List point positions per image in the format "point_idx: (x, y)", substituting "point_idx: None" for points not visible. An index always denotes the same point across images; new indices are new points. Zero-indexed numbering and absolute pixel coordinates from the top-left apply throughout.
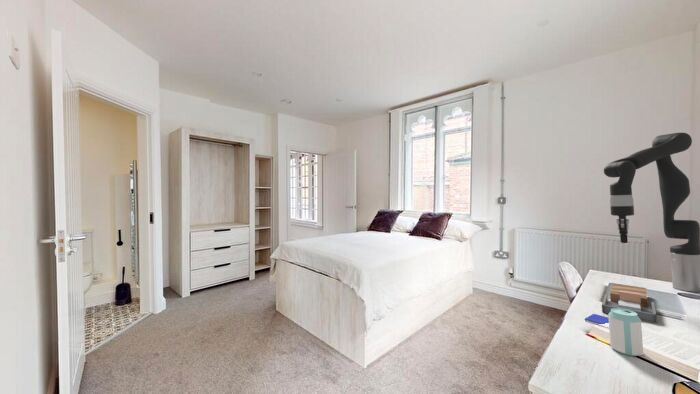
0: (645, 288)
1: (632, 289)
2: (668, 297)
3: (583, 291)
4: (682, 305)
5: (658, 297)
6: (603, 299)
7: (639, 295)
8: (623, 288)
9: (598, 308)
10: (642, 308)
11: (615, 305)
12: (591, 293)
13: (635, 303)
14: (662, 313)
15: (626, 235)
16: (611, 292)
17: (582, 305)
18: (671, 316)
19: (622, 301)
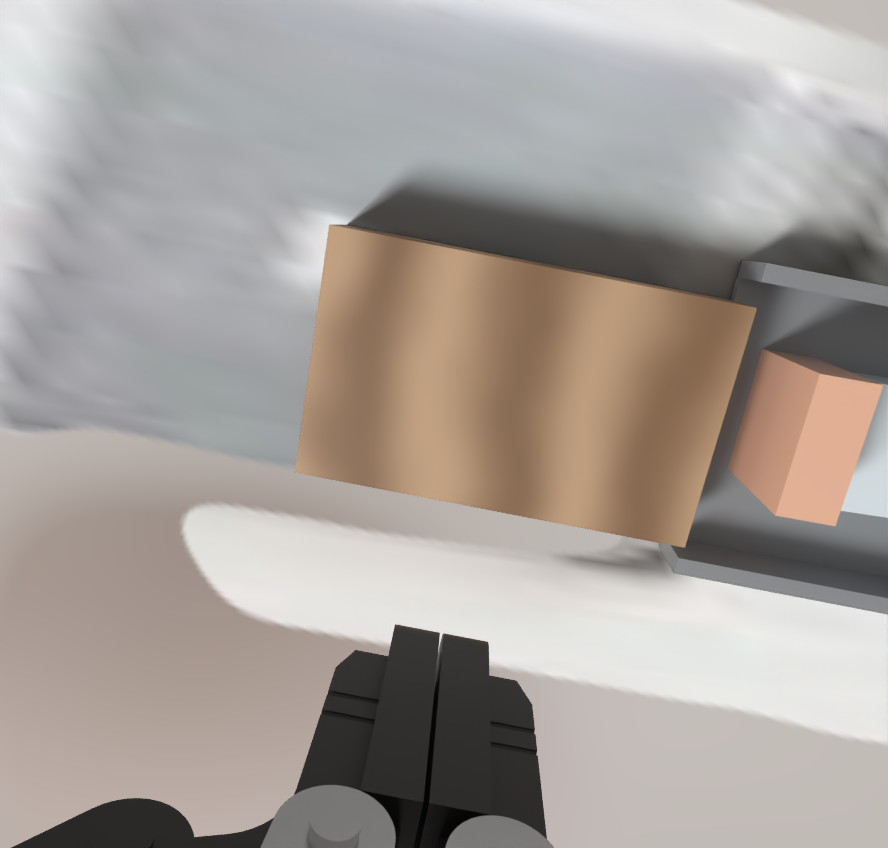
0: (365, 236)
1: (466, 355)
2: (281, 53)
3: None
4: (504, 13)
5: (326, 137)
6: (834, 603)
7: (876, 389)
8: (462, 419)
9: (866, 612)
10: (779, 343)
11: None
12: (465, 603)
13: None
14: (814, 228)
15: (481, 814)
16: (659, 534)
17: (834, 695)
18: (869, 186)
19: None
